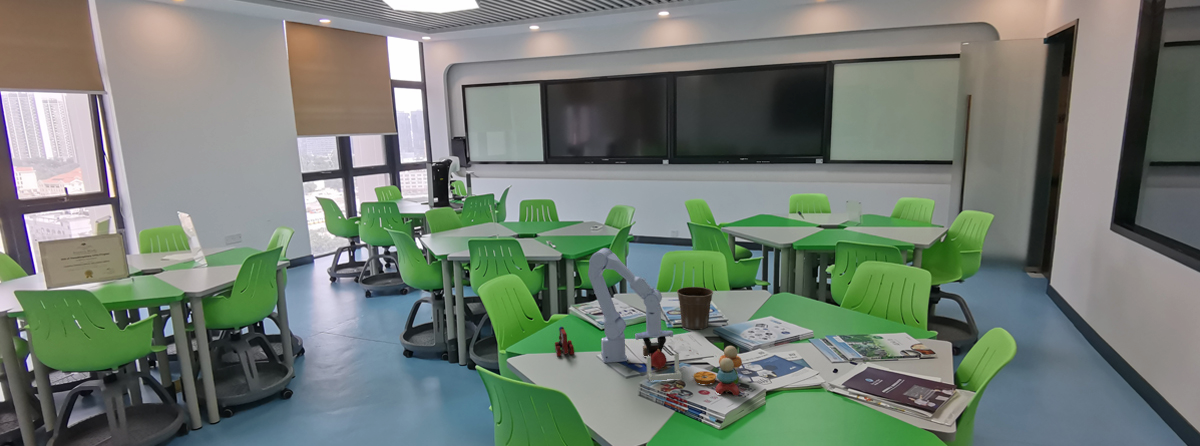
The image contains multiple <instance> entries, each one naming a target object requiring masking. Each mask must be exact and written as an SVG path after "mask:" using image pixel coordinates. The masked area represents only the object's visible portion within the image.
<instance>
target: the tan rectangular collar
mask: <svg viewBox="0 0 1200 446" xmlns="http://www.w3.org/2000/svg"><path fill="white" fill-rule="evenodd" d="M642 354H643V355H644V356H648V351H647V347H646V346H644V345H643V346H642ZM643 355H642V356H643ZM644 356H643V357H644Z"/></svg>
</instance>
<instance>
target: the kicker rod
mask: <svg viewBox="0 0 1200 446" xmlns="http://www.w3.org/2000/svg"><path fill="white" fill-rule="evenodd" d="M643 346H646V345H645V342H643ZM658 349H659V345H658V341H656V342H651V353H650V357H652V355H653V353H654V352H656V351H657V350H658ZM651 367H654V366H653V365H652V363H651Z"/></svg>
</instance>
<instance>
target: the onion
mask: <svg viewBox="0 0 1200 446" xmlns="http://www.w3.org/2000/svg"><path fill="white" fill-rule="evenodd" d="M667 361H668V359H667V356H666V354H665V353H664V352H663V351H662V352H661V351H660V349H658V350H657V351H656V352H654V353H653V355H652V357H651V363H652V365H653V366H652V367H654V368H656V369H657V370H661V369H662V368H664V366H666V364H667Z"/></svg>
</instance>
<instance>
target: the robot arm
mask: <svg viewBox="0 0 1200 446" xmlns="http://www.w3.org/2000/svg"><path fill="white" fill-rule="evenodd" d="M588 264H589V265H588V271H587V274H588V275H587V276H588V279H589V282H590V284H591V287H592V289H593V292H594V295H595V297H596V299H597V301H598V305H599V307H600V309H601V312H602V315H603V322H602V323H603V325H604V329H603V330H604V335H605V337H602V338H601V339H600V342H601V343H600V347H601V352H600V353H601V358H602V361H603V363H604V364H606V363H619V362H620V363H621V362H628V361H629V359H628V357H627V355H626V336H625V330H626V328H627V323H626V321H625V319H623V317H622V316H621V314H620V313H619V312H618V311H617V309H616V307H615V304H614V301H613V299H612V296H611V293H610V292H609V288H608V286H607V283H606V281H605V278H604V275H603V273H604V271H605V270H612V271H613V270H614V271H615V272H616V273H617V274H619V276H621V277H623V279H625V280H626V282H628V283H629V288H630V289H631V290H632V291H633V292H634V293H635V294H636V295H638V296H639V298H640V299H642V300H643V304H644V305H645V324H646V329H645V331H642V332H638V333H634V338H635V340H636V341H639V340H642V341H643V343H645V345H646V347H647V351H648V355H649V356H650V353H651V343H652V341H651V339H657V343H658V345H659V349H660V351H661V352H663V348H664V346H665V344H666V341H667V338H666V337H669V338H673V337H674V332H673V330H662V310H661V309H662V308H661V302H662V299H663V296H662V293H661V291H660V290H659V289H655V287H652V286H651V285H650V284H648V282H647V281H646V278H644V277H642V276H636V275H635V274H634V273H633V272H632V271H631V270H630V269H629V268H628V267H627V266H626V265H625V264H624V262H622V261H621V260H620V258H619V257H618V256H617V254H615V252H613V251H612V250H611V249H609V248H607V247H603V248H600V249H599V250H598V251H596V252H594V253H593V254H592V255H591V256H590V258H589V260H588ZM627 360H628V361H627Z"/></svg>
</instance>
